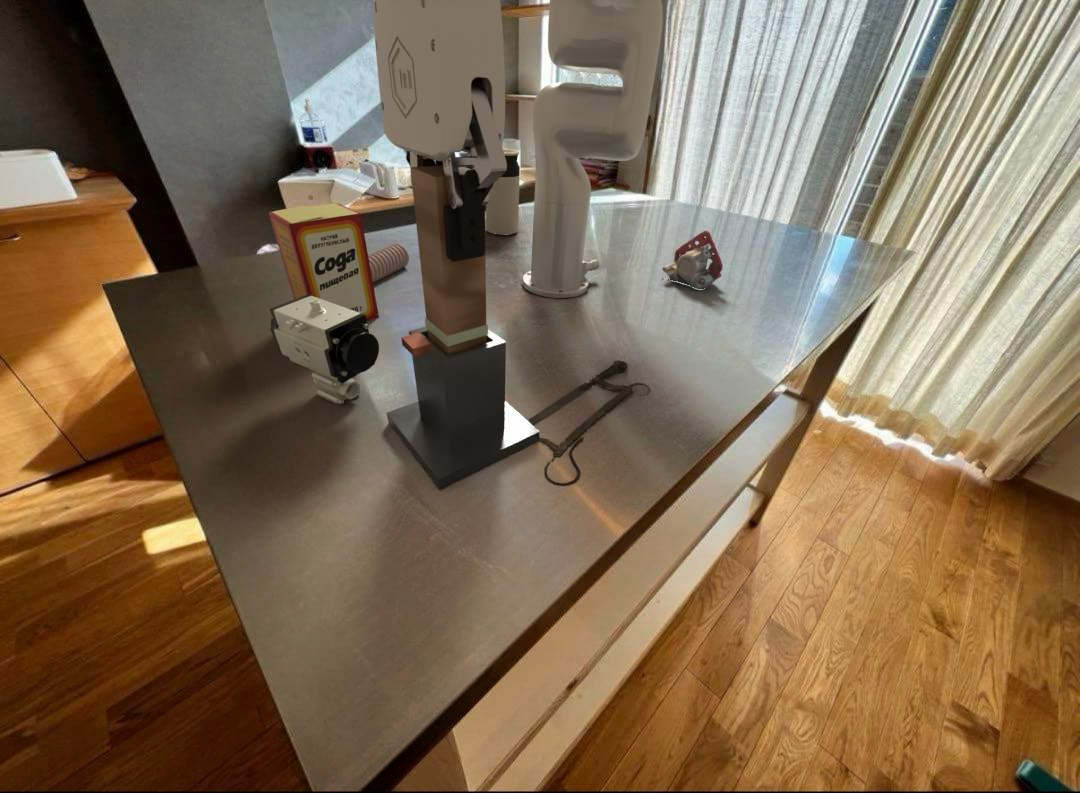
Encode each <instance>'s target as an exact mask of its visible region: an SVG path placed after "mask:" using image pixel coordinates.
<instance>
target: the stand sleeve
mask: <svg viewBox="0 0 1080 793" xmlns="http://www.w3.org/2000/svg"><path fill="white" fill-rule="evenodd" d="M401 346H402V347H404V349H406V350H407V351H408V352H409V354H411V358H412V364H413V372H414V380H415V387H416V395H417V401H415V402H413V403H409V404H407V405H404V406H402V407H398V408H396V409H393V410H390V411H388V412H386V418H387V422H388V425H389V426H390V427H391V428H392V430H393V431H394V432H395V434H396V435H397V436H398V438H399V440H400V441H401V442H402V443H403V444H404V445H405V447H406V448H407V449H408V450H409V452H410V454H411V455H412V456H413V458H414V459H415V460H416V461H417V463H418V464H419V465H420V467H421V468H422V469H423V471H424V472H425V473H426V474H427V476H428V477H429V478H430V480H431V481H432V482H433V483H434V485H435V486H436V488H437V489H438V490H439V491H441V490H444V489H446V488H448V487H450V486H452V485H454V484H456V483H458V482H461V481H462V480H465V479H466V478H468V477H470V476H472V475H474V474H476V473H479V472H480V471H483V470H484V469H486V468H489V467H490V466H493V465H494V464H497V463H499V462H500V461H503V460H506V459H507V458H509V457H511V456H513V455H515V454H517V453H519V452H521V451H524V449H527V448H529V447H531V446H533V445H535V444H537V443H540V442H539V437H540V430H539V429H537V428H536V427H535V425H532V424H531V423H530V422H528V421H527V420H528V419H527V418H525V417H524V416H523V415H522V414H520V412H518V411H517V410H516V409H515V408H514V407H512V405H510V404H509V403H508V402H507V401H506V365H507V364H506V362H507V360H506V359H507V358H506V356H507V354H506V353H507V341H506V340H504V339H503V338H501V337H500V336H498V335H497V334H496V333H494V332H493V331H492V330H490V329H489V328H488V335H487V343H485V344H482V345H479V346H475V347H472V348H469V349H466V350H463V351H459V352H456V353H453V354H450V355H447V356H446V355H445V354H444V353H443V352H442V351H441V350H439V349H438V348H437V347H436V346H435V345H434V344H433V343H432V342H431V341H429V340H428V330H427V328H426V326H424V327H420V328H416V329H412V330H408V335H404V336H401Z"/></svg>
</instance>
